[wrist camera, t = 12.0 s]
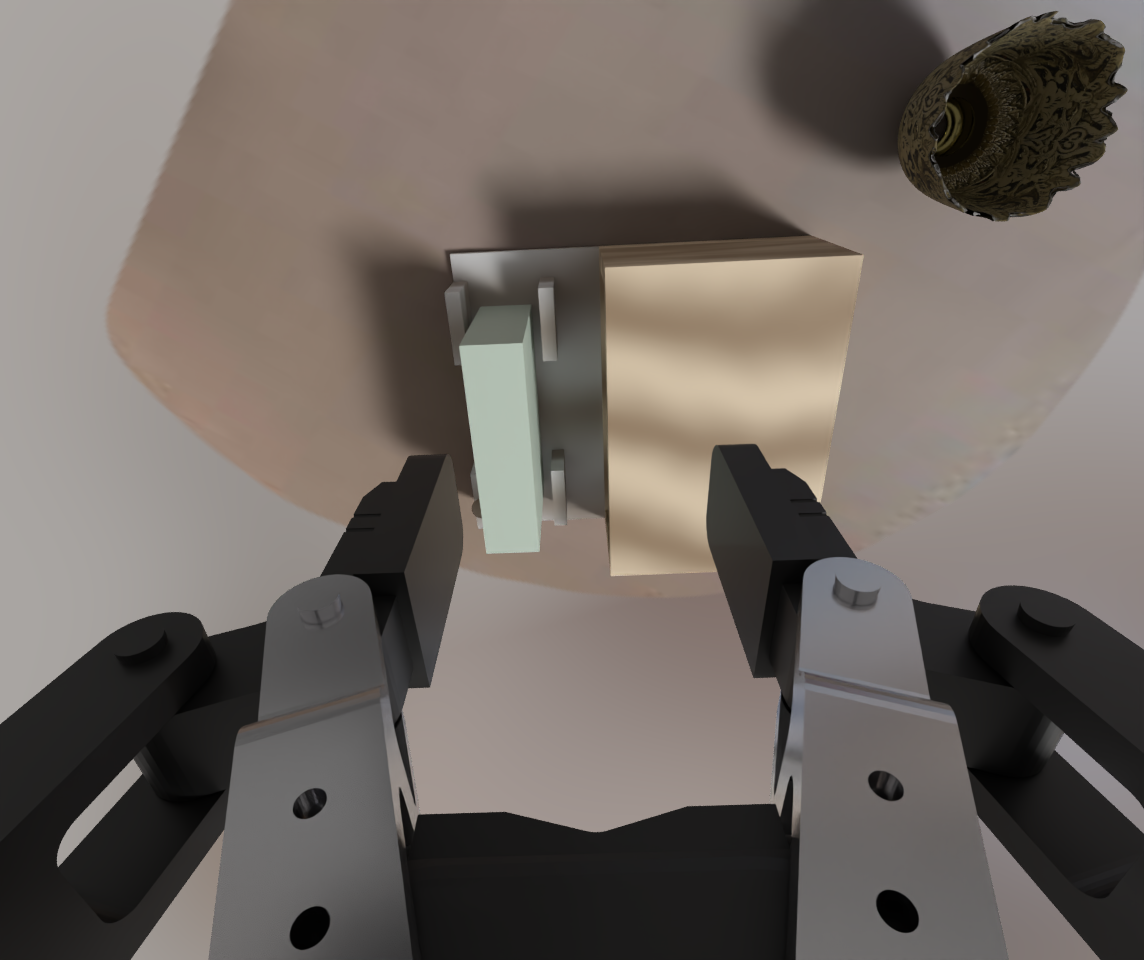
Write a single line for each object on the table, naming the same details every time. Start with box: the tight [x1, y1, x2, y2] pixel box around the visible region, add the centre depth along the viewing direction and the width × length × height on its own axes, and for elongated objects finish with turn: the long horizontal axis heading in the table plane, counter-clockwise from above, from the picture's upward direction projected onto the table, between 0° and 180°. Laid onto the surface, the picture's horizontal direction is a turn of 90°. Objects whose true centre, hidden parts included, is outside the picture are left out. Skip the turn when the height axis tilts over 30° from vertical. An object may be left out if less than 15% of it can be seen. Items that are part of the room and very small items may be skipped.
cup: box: [898, 11, 1127, 221], centre depth 28 cm, size 8×7×8 cm
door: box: [459, 304, 544, 554], centre depth 35 cm, size 12×4×8 cm, turn 2°
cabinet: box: [444, 236, 864, 576], centre depth 36 cm, size 18×20×7 cm
